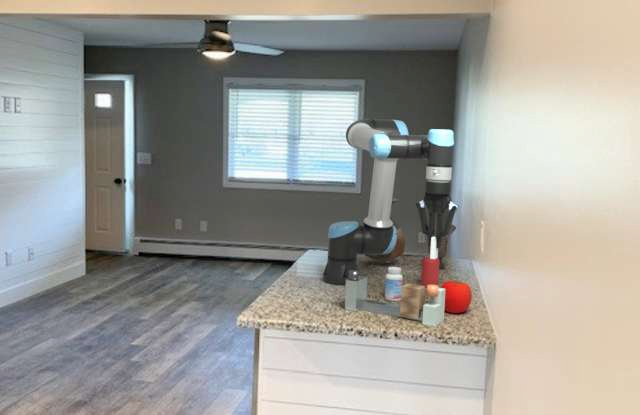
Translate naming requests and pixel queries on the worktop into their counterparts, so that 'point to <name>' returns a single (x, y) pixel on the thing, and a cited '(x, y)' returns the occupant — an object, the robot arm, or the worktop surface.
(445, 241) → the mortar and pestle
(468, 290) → the tomato
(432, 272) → the beer can
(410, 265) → the worktop surface
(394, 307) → the rail
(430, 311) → the pale stepped block
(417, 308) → the block
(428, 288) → the cylinder
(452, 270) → the worktop surface
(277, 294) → the worktop surface
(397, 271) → the pill bottle
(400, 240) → the vase
